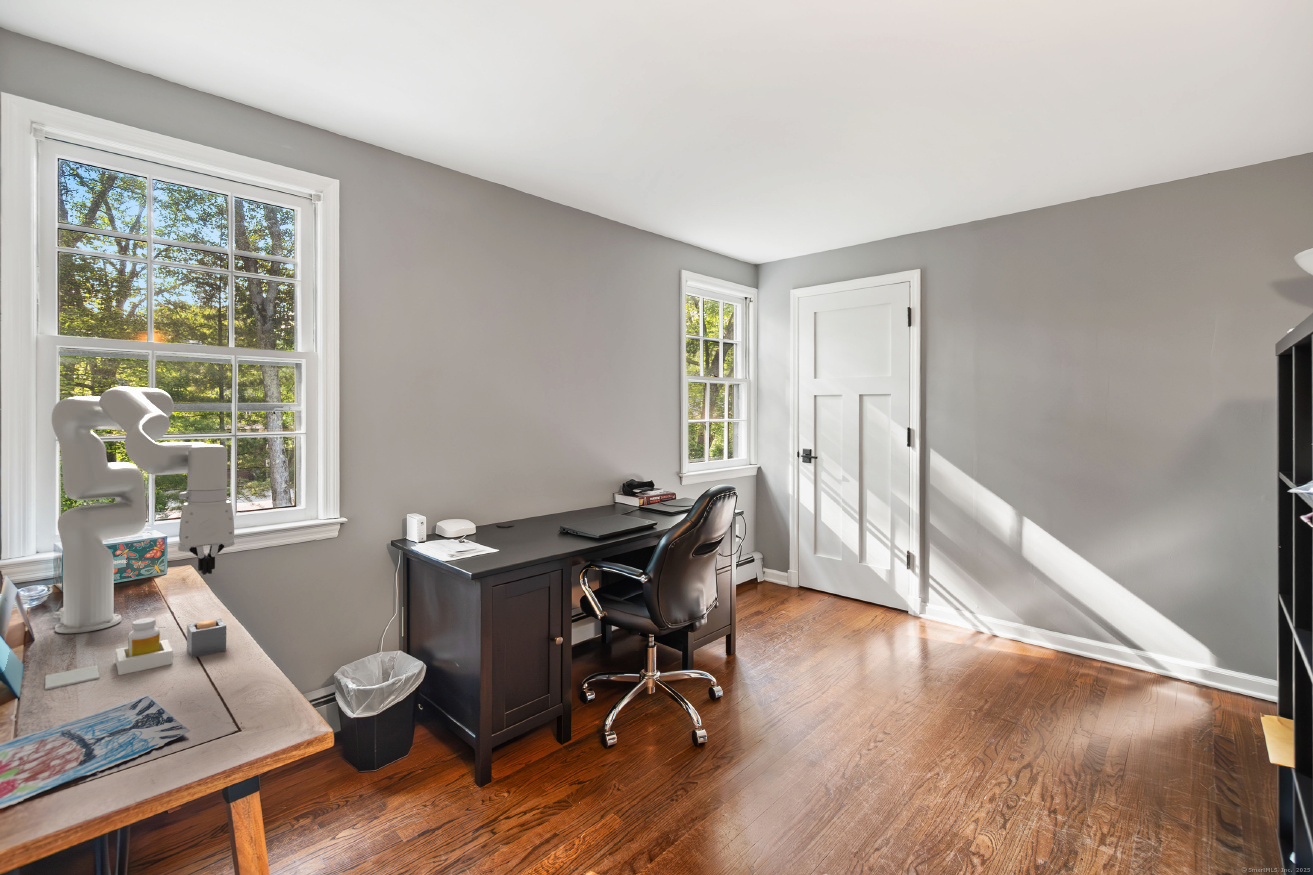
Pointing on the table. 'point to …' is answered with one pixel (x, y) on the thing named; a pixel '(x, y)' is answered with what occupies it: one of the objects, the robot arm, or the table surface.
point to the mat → (71, 677)
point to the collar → (143, 659)
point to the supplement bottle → (143, 637)
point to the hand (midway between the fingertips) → (206, 572)
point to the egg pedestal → (206, 639)
